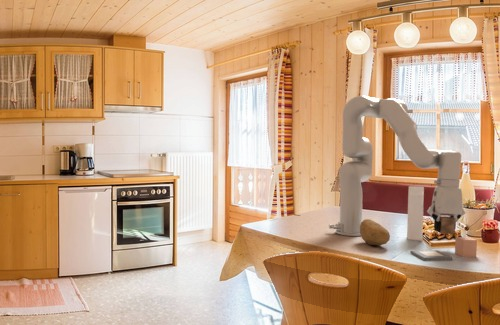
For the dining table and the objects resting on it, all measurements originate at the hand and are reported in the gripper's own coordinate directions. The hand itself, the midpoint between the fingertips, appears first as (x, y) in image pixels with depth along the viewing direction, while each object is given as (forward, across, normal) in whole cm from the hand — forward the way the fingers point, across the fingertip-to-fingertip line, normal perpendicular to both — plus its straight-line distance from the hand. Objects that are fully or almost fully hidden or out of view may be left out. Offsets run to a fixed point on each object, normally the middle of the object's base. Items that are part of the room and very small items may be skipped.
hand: (444, 230), depth 166 cm
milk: (+8, -3, +17) cm, 19 cm away
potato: (+8, -25, +6) cm, 27 cm away
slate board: (+7, -11, -12) cm, 18 cm away
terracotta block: (+7, +3, -10) cm, 12 cm away
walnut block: (+1, 0, 0) cm, 1 cm away
